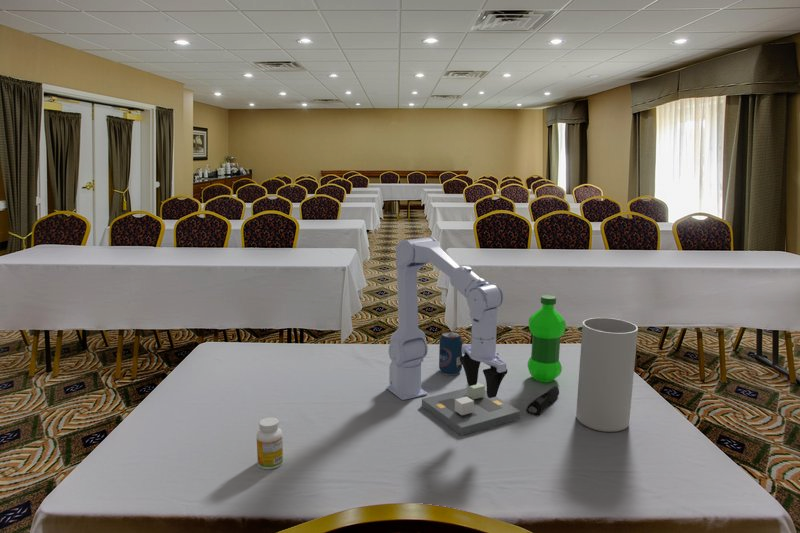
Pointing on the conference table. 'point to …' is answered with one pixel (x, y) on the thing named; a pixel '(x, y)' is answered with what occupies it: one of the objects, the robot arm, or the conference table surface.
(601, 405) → the cylinder vase
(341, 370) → the conference table surface
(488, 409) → the switch panel
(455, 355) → the soda can
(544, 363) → the plastic bottle
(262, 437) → the supplement bottle
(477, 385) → the tab sage
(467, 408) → the light grey block
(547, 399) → the electric trimmer
